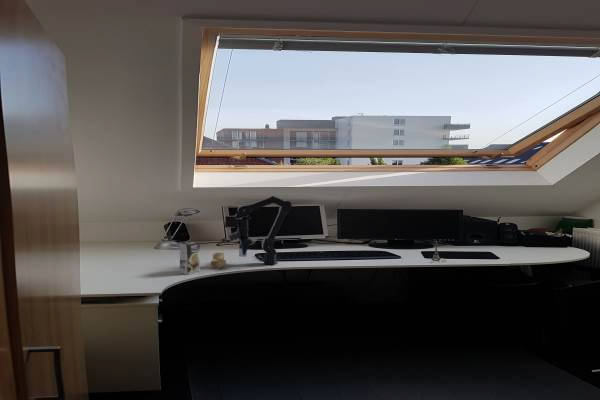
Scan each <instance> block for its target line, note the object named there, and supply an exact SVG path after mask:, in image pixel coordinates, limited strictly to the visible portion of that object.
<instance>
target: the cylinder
mask: <svg viewBox="0 0 600 400" xmlns="http://www.w3.org/2000/svg"><path fill="white" fill-rule="evenodd" d="M247 255H248V250H247V251H246V254H245V255H243V252H242V249H240V248H239V249H238V256H239V257H240V258H243V257H244V258H245V257H247Z"/></svg>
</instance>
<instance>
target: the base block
mask: <svg viewBox="0 0 600 400" xmlns="http://www.w3.org/2000/svg"><path fill="white" fill-rule="evenodd" d="M226 267H227V260H226V259H224V260H223V261H222V262H214V261H213V260H211V261H210V268H211V269H217V270H221V269H224V268H226Z"/></svg>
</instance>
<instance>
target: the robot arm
mask: <svg viewBox="0 0 600 400" xmlns="http://www.w3.org/2000/svg"><path fill="white" fill-rule="evenodd" d="M271 204H275V205H277V206H279V208H278V214H277V216H276V218H275V220H274V222H273V224H272V226H271V228H270V231H269V233H268V234H267V236H263V240H262V241H261V247H262V250H263V251H264V252H265V253H264V255H263V263H262V265H267V266H275V265H277V264H278V261H277V250H276V248H274V244H275V238H276V236H277V234H278V232H279V230H280V227H281V226H282V223H283V221H284V219H285V217H286V215H287V214H289V212H290V211H291V209H292V208H293V205H292V202H291V201H290V200H287V199H281V198H279V197H276V196H274V195H270V196H269V197H266V198H264V199H261V200H258V201H255V202H252V203H247V204H242V205H239V206H238V208H237V212H236V213H235V215H225V216H224V217H225V218H224V219H225V220H224V228H225V229H226V228H231V229H232V228H233V229H234V228H236V227H237V229H236V231H234V232H232V233H230V234H228V235H227V236H228V240H229V241H230V242H233V241H235V242H236V243H237V244H238V247H239V249H242V252H243V255H245V254H246V251H247V252H248V249H249V247H250V245H253V240H252V239H251V238H250V237H249V231H250V229H249V221H250V220H252V217H250V216H249V214H251V213H252V212H253V211H256V210H258V209H261V208H264V207H266V206H269V205H271Z"/></svg>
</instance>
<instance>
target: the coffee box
mask: <svg viewBox="0 0 600 400" xmlns="http://www.w3.org/2000/svg"><path fill="white" fill-rule="evenodd" d="M200 243H201V242H200V241H192V240H191V241H187V242H186V241H185V242H181V243H179V274H184V275H192V274H194V273H198V272H200V270H201V268H200V267H201V265H200V264H201V261H200V260H201V258H200V256H201V254H200V253H201V249H200V247H201V245H200Z"/></svg>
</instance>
